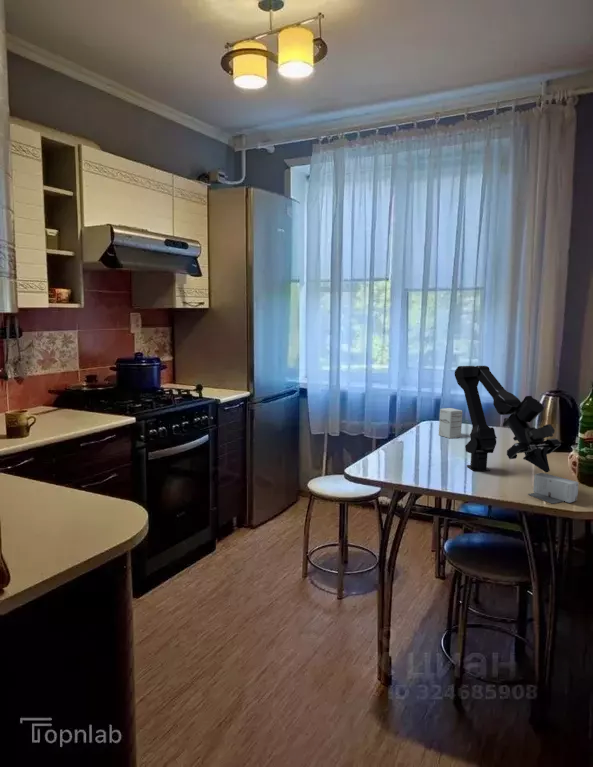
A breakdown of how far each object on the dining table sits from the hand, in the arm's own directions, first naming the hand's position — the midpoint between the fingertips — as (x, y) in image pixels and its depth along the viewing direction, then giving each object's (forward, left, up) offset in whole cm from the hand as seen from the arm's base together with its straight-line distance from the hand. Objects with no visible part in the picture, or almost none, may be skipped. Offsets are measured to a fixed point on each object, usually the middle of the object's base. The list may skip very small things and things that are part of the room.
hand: (548, 471), depth 174 cm
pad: (+2, 0, -8) cm, 8 cm away
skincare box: (-4, -1, -5) cm, 6 cm away
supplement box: (-83, +1, -8) cm, 84 cm away
